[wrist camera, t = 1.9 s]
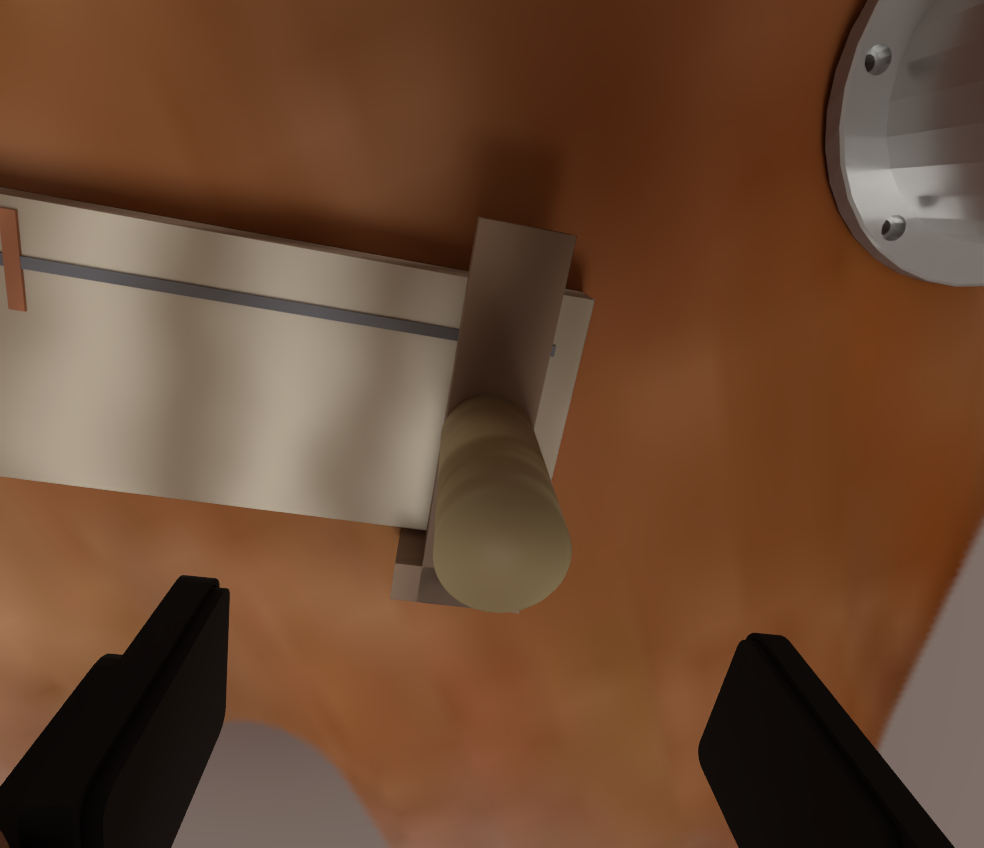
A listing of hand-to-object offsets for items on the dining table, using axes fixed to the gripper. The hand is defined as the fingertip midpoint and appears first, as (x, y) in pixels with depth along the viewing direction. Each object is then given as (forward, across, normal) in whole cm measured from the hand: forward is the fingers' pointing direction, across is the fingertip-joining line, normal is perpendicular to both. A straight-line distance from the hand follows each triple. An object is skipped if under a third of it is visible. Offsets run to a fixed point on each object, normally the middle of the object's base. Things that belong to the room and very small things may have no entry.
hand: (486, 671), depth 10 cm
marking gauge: (+14, -1, -1) cm, 14 cm away
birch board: (+14, +9, -1) cm, 17 cm away
